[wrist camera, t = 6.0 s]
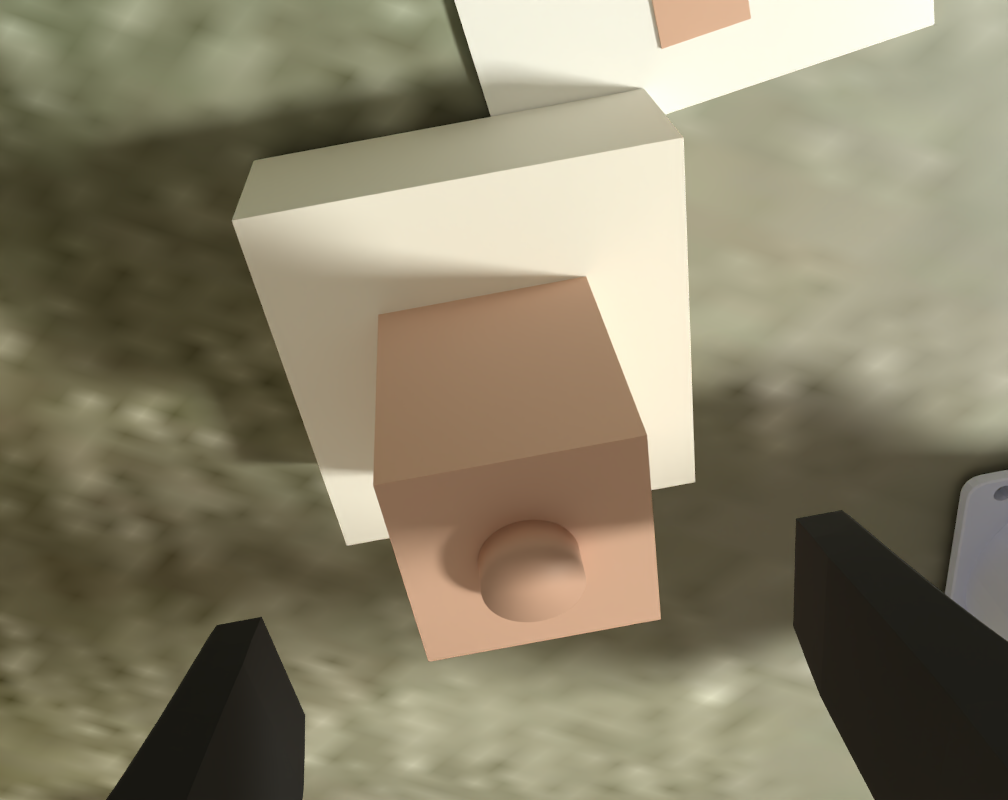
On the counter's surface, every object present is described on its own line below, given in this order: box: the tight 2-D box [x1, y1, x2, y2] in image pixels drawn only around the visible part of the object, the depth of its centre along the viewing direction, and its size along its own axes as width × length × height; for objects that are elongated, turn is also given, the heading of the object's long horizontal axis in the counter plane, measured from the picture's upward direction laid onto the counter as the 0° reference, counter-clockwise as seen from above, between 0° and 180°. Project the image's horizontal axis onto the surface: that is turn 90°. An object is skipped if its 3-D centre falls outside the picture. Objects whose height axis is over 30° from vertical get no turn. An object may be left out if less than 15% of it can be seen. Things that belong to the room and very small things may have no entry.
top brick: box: [373, 276, 661, 662], centre depth 16 cm, size 4×4×6 cm
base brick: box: [232, 89, 695, 546], centre depth 19 cm, size 8×8×3 cm
